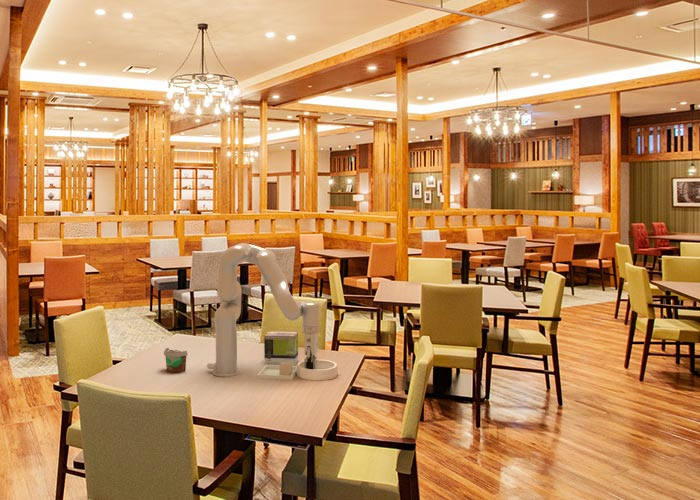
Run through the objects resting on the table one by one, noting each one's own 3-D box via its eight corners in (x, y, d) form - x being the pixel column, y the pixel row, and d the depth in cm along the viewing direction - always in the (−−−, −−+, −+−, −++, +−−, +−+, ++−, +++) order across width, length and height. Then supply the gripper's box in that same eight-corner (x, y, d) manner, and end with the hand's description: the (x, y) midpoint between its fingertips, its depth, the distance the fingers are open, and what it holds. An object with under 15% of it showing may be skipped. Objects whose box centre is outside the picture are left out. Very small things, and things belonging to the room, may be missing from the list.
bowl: (293, 380, 271) (293, 369, 270) (301, 368, 288) (301, 358, 288) (334, 381, 269) (334, 371, 268) (339, 370, 287) (339, 360, 286)
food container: (158, 371, 282) (157, 350, 281) (167, 368, 287) (167, 347, 286) (178, 375, 276) (178, 353, 275) (187, 372, 281) (187, 350, 280)
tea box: (298, 360, 303) (298, 331, 302) (294, 366, 293) (294, 336, 292) (268, 359, 304) (268, 330, 303) (263, 365, 294) (263, 334, 293)
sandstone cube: (279, 375, 276) (279, 364, 275) (281, 372, 281) (281, 362, 280) (290, 376, 275) (290, 365, 275) (292, 373, 280) (292, 362, 280)
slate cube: (304, 370, 276) (304, 359, 276) (306, 367, 281) (306, 356, 281) (315, 370, 276) (315, 359, 276) (317, 367, 281) (317, 356, 280)
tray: (256, 379, 271) (256, 374, 271) (265, 369, 287) (265, 365, 287) (292, 380, 270) (292, 376, 270) (299, 370, 286) (299, 366, 285)
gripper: (316, 333, 268) (315, 374, 270) (321, 325, 285) (321, 363, 287) (299, 332, 269) (299, 373, 271) (306, 325, 286) (305, 363, 287)
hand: (310, 368), depth 279 cm, fingers closed on slate cube, 5 cm apart
